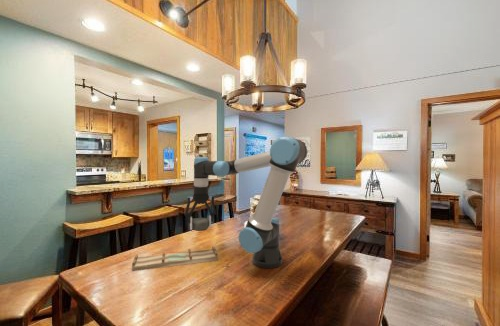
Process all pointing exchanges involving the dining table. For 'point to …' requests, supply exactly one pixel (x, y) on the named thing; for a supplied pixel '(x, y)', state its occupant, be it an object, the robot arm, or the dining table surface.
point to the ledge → (174, 259)
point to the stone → (200, 224)
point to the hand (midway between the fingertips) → (200, 228)
